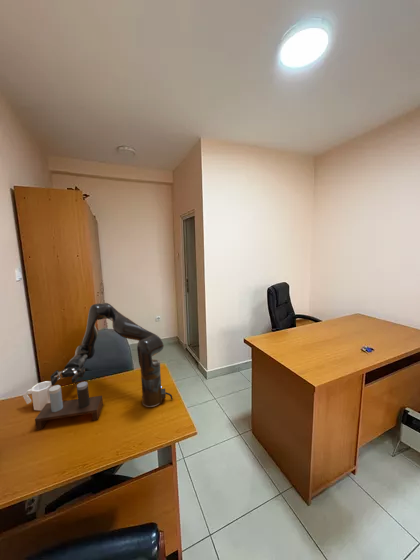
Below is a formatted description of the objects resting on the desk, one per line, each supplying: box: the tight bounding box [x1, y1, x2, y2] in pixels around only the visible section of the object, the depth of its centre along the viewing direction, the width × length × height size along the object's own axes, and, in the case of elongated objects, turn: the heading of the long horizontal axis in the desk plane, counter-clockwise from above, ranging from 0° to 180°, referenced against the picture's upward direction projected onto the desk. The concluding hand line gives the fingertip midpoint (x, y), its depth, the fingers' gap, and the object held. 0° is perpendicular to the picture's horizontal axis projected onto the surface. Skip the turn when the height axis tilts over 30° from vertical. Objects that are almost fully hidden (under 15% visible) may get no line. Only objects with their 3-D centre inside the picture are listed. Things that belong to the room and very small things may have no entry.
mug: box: [22, 380, 53, 412], centre depth 109 cm, size 12×9×10 cm
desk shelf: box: [34, 395, 104, 431], centre depth 102 cm, size 24×10×5 cm, turn 102°
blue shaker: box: [49, 384, 64, 412], centre depth 100 cm, size 4×4×10 cm
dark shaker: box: [76, 381, 90, 408], centre depth 102 cm, size 4×4×10 cm
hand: (62, 382), depth 107 cm, fingers open, 8 cm apart
